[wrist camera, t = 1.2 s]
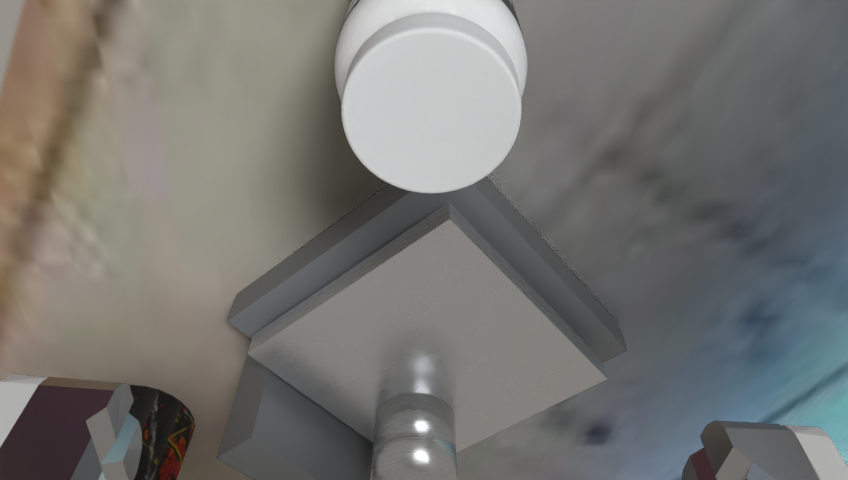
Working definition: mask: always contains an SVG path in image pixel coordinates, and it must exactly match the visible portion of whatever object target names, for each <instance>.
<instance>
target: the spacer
mask: <svg viewBox="0 0 848 480" xmlns="http://www.w3.org/2000/svg"><path fill="white" fill-rule="evenodd" d="M370 480H457V462H456V431H455V414H454V411H453V410H452V408H451V407H450V405H449V404H447V403H446V402H445V401H444V400H442V399H440V398H438V397H436V396H433V395H430V394H425V393H404V394H399V395H396V396H393V397H391V398H389V399H388V400H386V401H385V402H383V403H382V404H381V405H380V407H379V408H378V410H377V412H376V419H375V430H374V442H373V453H372V465H371V476H370Z"/></svg>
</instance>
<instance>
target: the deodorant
mask: <svg viewBox="0 0 848 480" xmlns="http://www.w3.org/2000/svg"><path fill="white" fill-rule="evenodd" d="M129 386H130V389H131V393H132V396H133V399H134V401H133V403H132V406H131V408H130V410H129V412H128V413H129V414H131V415H132V416H133V417H134V418H136V419H137V420H138V421H139V423H140V427H141V432H142V451H141V456H140V461H139V466H138V470H137V473H136V475H135V478H134V480H176V479H177V476H178V473H179V470H180V467H181V465H182V462H183V459H184V456H185V453H186V450H187V447H188V445H189V442H190V439H191V436H192V433H193V430H194V427H195V426H194V418H193V417H192V415H191V413H190V411H189V410H188V409H187V408H186V407H185V405H184V404H183V403H182V402H180V401H179V400H177V399H176V398H174V397H173V396H171V395H169V394H167V393H164V392H162V391H160V390H157V389H153V388H149V387H145V386H135V385H129Z"/></svg>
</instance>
